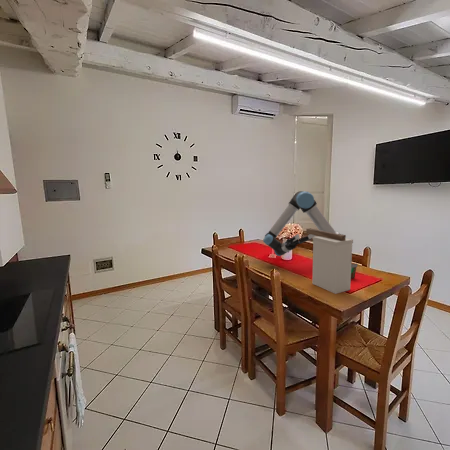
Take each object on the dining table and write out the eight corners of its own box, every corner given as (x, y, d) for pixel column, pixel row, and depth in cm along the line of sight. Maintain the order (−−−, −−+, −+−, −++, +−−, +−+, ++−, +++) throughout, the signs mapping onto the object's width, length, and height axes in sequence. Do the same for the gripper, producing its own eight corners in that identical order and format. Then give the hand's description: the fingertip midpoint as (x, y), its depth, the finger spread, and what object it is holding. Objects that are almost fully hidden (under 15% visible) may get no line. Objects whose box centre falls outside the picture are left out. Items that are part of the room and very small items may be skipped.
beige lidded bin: (326, 280, 172) (328, 234, 168) (350, 289, 156) (353, 239, 152) (311, 283, 167) (312, 236, 162) (334, 294, 151) (336, 242, 146)
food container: (334, 275, 180) (334, 261, 178) (339, 273, 183) (339, 259, 182) (351, 280, 170) (352, 265, 169) (356, 278, 174) (357, 263, 172)
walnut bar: (309, 232, 175) (309, 228, 175) (345, 240, 150) (345, 235, 150) (306, 233, 174) (306, 228, 174) (341, 240, 149) (341, 235, 149)
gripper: (304, 248, 197) (323, 238, 179) (276, 252, 187) (293, 242, 169) (300, 238, 200) (319, 227, 182) (273, 242, 189) (289, 231, 171)
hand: (306, 234), depth 175 cm, fingers open, 13 cm apart
